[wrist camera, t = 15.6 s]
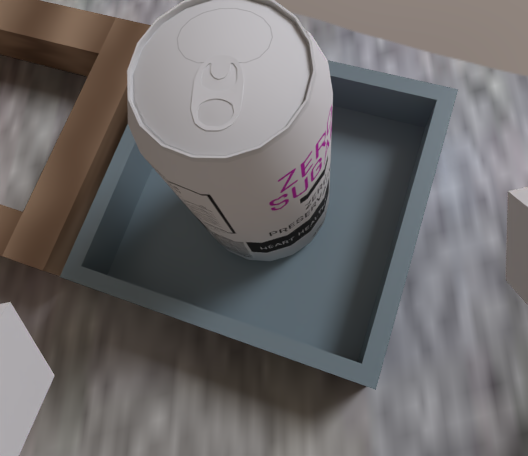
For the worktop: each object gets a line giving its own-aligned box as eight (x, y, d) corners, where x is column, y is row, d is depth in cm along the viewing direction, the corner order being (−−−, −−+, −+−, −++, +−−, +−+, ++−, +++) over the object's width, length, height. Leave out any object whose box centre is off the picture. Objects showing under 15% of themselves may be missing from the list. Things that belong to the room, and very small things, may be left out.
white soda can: (212, 145, 33) (127, -20, 19) (331, 147, 32) (338, -26, 18) (198, 259, 31) (92, 171, 17) (326, 266, 30) (329, 178, 16)
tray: (94, 288, 32) (59, 276, 28) (189, 65, 36) (171, 25, 32) (367, 385, 29) (375, 389, 24) (440, 125, 33) (458, 89, 28)
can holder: (-128, 209, 36) (-181, 191, 32) (-20, 15, 40) (-56, -21, 36) (75, 281, 33) (42, 270, 29) (171, 61, 37) (154, 26, 33)
